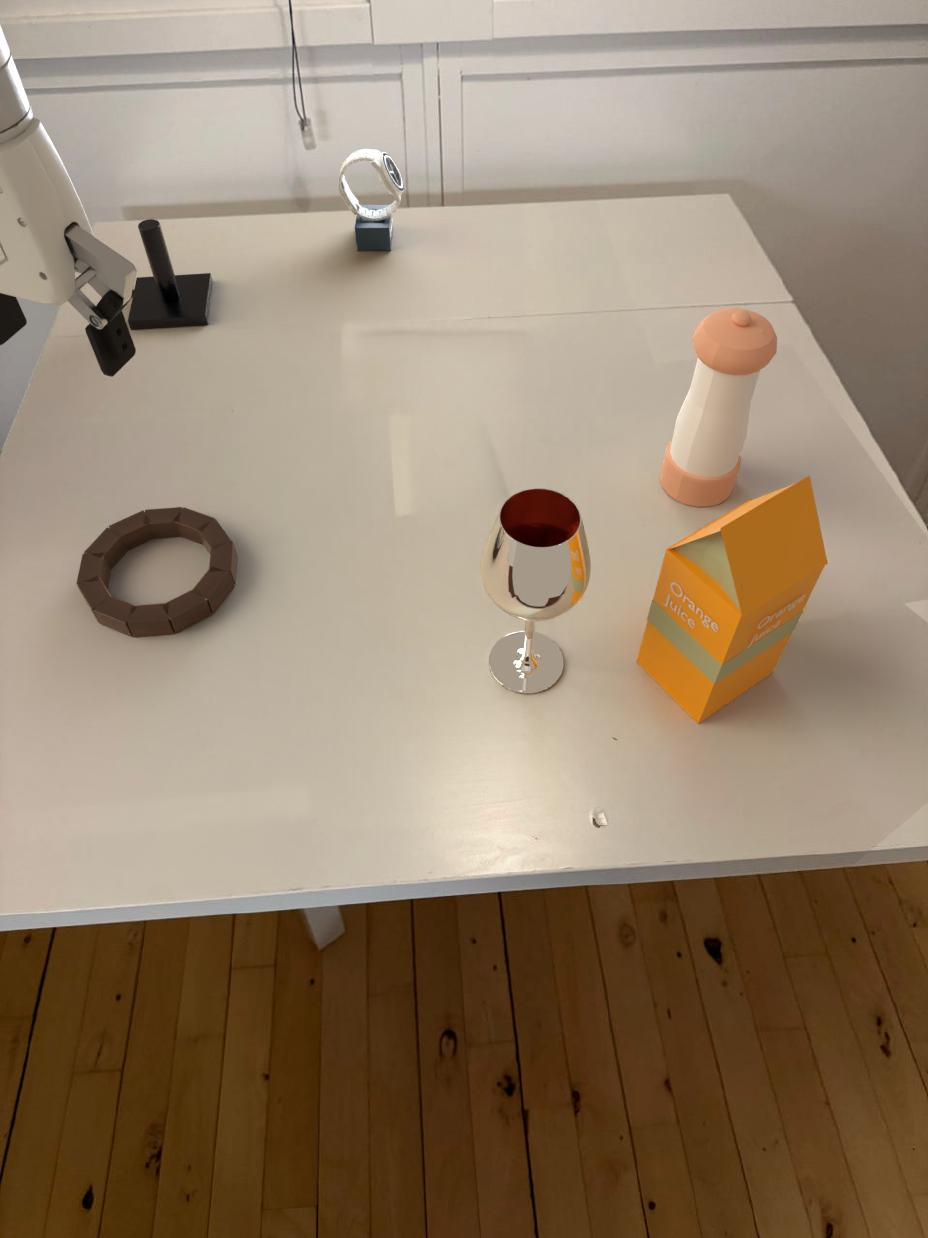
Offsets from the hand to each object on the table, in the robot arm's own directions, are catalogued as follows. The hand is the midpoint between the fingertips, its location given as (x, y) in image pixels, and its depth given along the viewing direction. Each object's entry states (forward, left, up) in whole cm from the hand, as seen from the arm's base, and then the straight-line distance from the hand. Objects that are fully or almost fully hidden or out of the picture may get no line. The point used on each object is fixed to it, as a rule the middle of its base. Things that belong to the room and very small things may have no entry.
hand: (64, 349), depth 65 cm
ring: (+1, -2, -23) cm, 23 cm away
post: (-2, +41, -23) cm, 47 cm away
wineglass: (+33, -15, -24) cm, 43 cm away
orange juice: (+48, -17, -24) cm, 56 cm away
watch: (+23, +53, -24) cm, 62 cm away
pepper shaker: (+53, +5, -24) cm, 58 cm away
